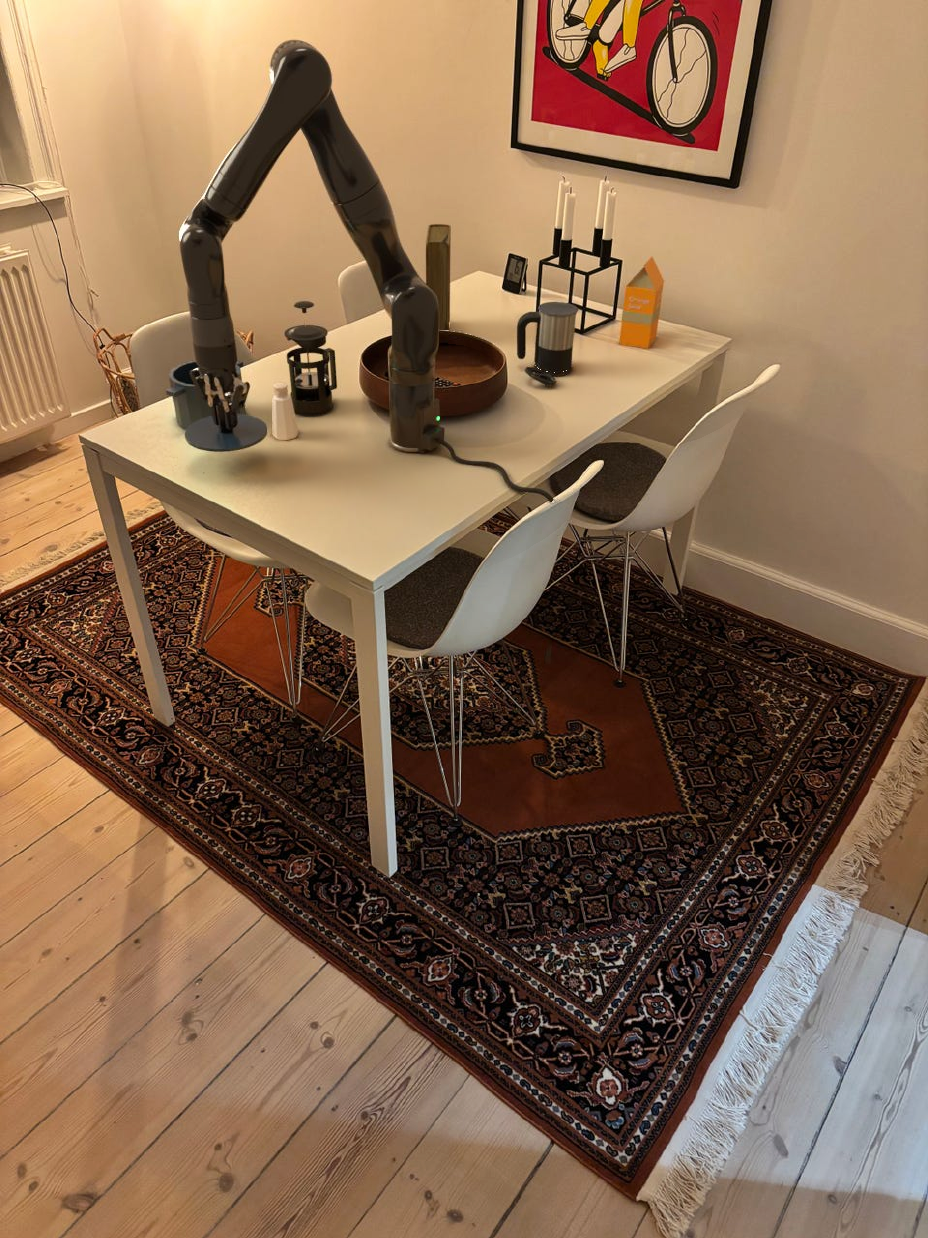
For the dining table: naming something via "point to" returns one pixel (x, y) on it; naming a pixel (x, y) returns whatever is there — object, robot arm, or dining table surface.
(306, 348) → the french press
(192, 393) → the pot
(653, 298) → the orange juice
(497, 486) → the dining table surface
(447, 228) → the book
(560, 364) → the milk frother
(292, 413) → the pepper shaker
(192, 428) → the lid
